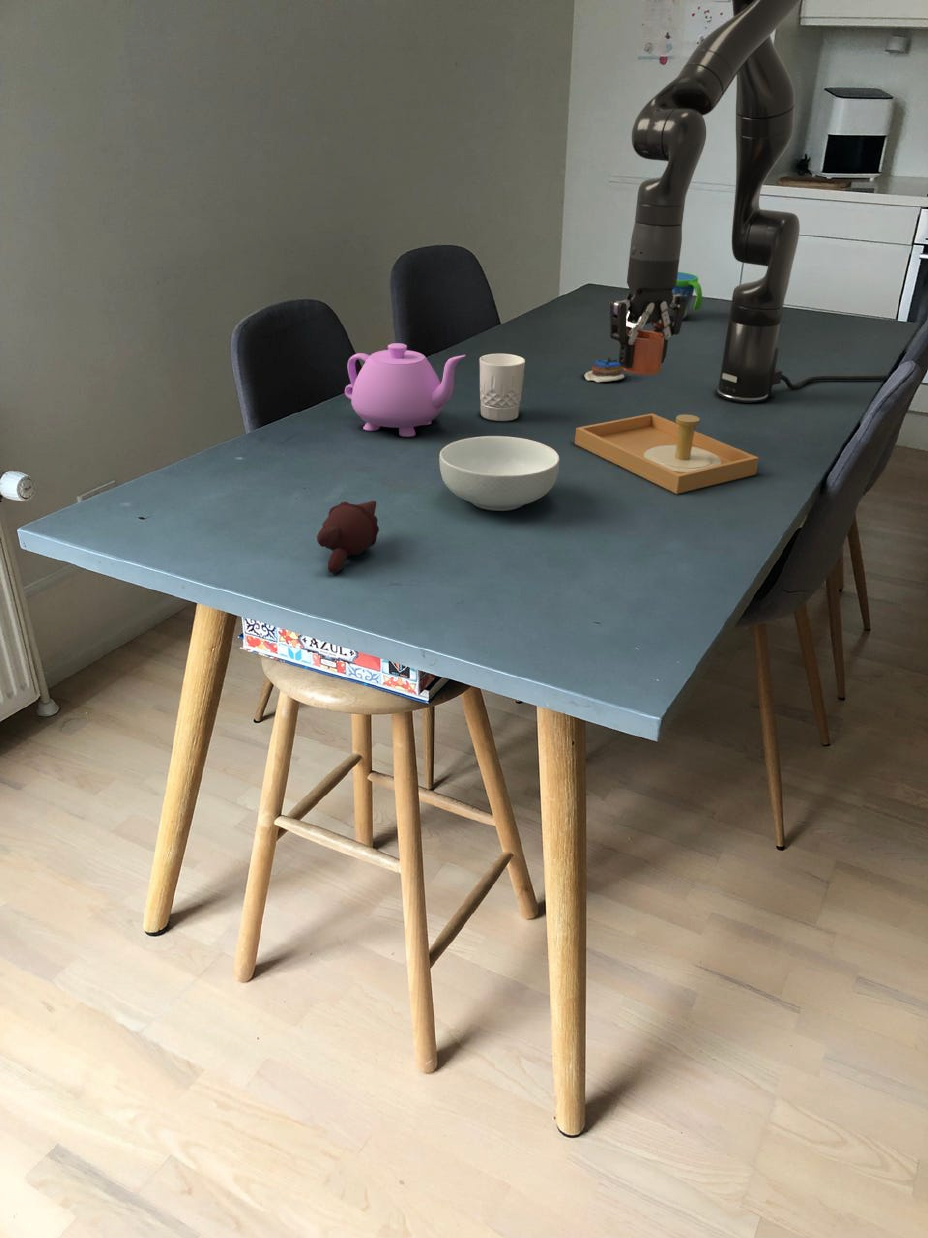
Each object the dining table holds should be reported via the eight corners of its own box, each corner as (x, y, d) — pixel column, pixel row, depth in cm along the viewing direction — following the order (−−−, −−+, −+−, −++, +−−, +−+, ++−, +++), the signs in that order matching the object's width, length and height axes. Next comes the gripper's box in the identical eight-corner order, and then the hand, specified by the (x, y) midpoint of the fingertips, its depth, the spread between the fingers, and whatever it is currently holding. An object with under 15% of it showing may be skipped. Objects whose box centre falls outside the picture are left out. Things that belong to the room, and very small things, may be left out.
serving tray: (650, 428, 174) (652, 412, 173) (755, 474, 156) (758, 457, 155) (574, 443, 166) (575, 427, 165) (676, 494, 148) (679, 476, 147)
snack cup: (709, 321, 246) (715, 278, 241) (678, 326, 241) (684, 282, 236) (663, 309, 257) (668, 267, 252) (633, 313, 252) (638, 271, 247)
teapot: (479, 422, 175) (482, 342, 168) (444, 449, 162) (446, 365, 155) (366, 404, 182) (364, 327, 175) (324, 429, 169) (320, 347, 162)
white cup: (518, 424, 174) (521, 367, 169) (473, 420, 176) (475, 363, 171) (524, 410, 181) (528, 355, 176) (482, 406, 182) (484, 351, 177)
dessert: (625, 369, 204) (625, 350, 198) (624, 395, 201) (624, 376, 195) (585, 369, 205) (584, 350, 200) (583, 396, 202) (583, 377, 197)
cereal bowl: (568, 488, 149) (572, 443, 146) (539, 532, 135) (542, 482, 132) (460, 472, 154) (462, 427, 150) (421, 512, 140) (421, 464, 136)
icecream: (342, 480, 133) (289, 532, 121) (392, 475, 130) (342, 528, 118) (357, 526, 136) (307, 582, 124) (406, 523, 133) (359, 579, 121)
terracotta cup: (643, 362, 164) (647, 328, 161) (668, 371, 160) (672, 336, 157) (614, 367, 161) (618, 332, 158) (639, 376, 157) (643, 341, 154)
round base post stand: (683, 445, 165) (689, 401, 161) (736, 468, 156) (744, 423, 152) (627, 457, 159) (632, 412, 156) (679, 482, 150) (686, 435, 147)
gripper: (634, 261, 146) (622, 376, 154) (706, 255, 153) (691, 365, 161) (602, 253, 151) (591, 364, 159) (673, 247, 158) (659, 354, 166)
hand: (641, 364), depth 160 cm, fingers closed on terracotta cup, 6 cm apart
